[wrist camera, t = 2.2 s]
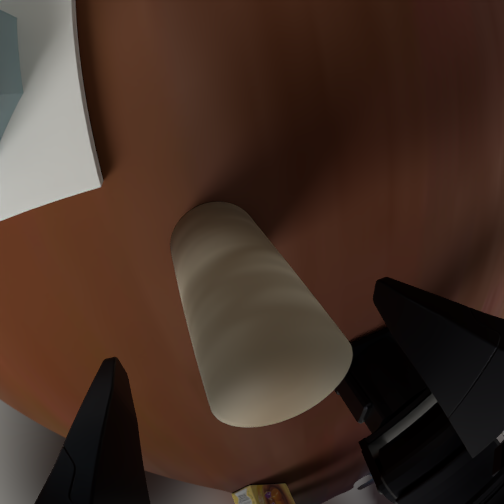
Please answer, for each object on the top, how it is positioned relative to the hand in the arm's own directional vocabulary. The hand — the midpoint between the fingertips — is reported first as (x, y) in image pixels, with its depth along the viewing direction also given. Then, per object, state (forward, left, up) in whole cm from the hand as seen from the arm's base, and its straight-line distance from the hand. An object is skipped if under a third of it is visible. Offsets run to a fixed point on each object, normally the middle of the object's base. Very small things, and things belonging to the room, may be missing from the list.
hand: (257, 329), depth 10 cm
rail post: (0, 0, -6) cm, 6 cm away
